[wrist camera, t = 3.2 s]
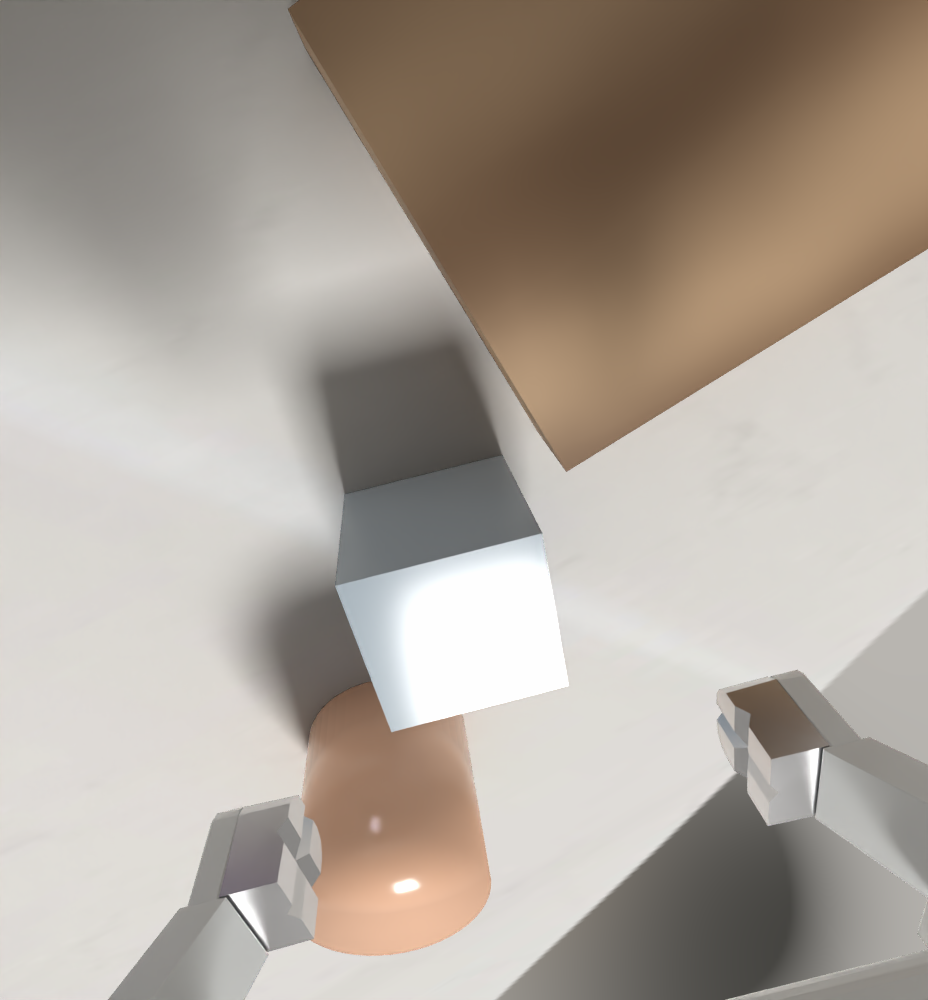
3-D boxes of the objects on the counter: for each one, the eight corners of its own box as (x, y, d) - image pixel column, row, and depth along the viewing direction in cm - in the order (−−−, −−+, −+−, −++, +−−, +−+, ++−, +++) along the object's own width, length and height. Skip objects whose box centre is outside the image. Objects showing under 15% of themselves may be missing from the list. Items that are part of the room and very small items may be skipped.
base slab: (875, 219, 16) (971, 222, 14) (538, 432, 18) (566, 471, 15) (752, -302, 12) (864, -454, 9) (305, 49, 13) (287, 9, 10)
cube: (526, 582, 21) (568, 685, 16) (387, 618, 20) (391, 732, 16) (501, 454, 18) (542, 533, 14) (344, 493, 18) (335, 586, 14)
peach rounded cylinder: (478, 768, 24) (506, 925, 19) (336, 805, 24) (325, 974, 19) (446, 661, 22) (469, 810, 16) (286, 702, 21) (256, 866, 16)
